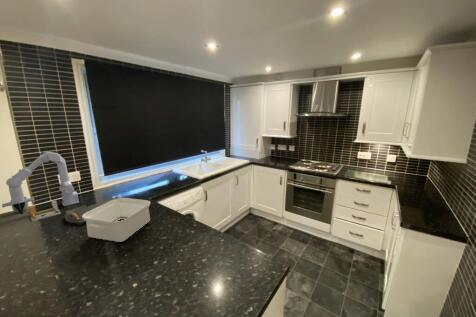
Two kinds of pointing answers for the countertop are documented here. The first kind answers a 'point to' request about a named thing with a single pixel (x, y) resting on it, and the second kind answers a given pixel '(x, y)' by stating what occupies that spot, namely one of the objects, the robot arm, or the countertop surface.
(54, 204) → the rail
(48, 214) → the bolt plate
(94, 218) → the white sink basin
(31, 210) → the slider leg
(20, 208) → the cup
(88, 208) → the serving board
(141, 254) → the countertop surface
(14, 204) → the robot arm
